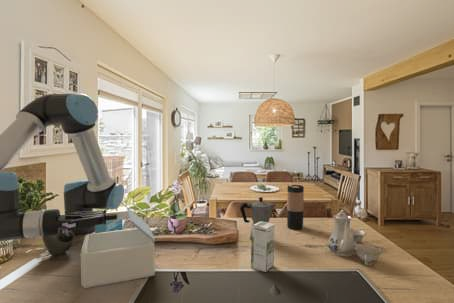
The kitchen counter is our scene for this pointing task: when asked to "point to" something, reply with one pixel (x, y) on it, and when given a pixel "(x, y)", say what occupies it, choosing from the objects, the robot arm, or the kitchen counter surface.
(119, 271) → the carton
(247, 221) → the coffeepot
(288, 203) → the travel mug
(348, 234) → the chinaware
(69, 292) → the kitchen counter surface
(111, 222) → the data package
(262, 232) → the syrup box
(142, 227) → the carton flap
